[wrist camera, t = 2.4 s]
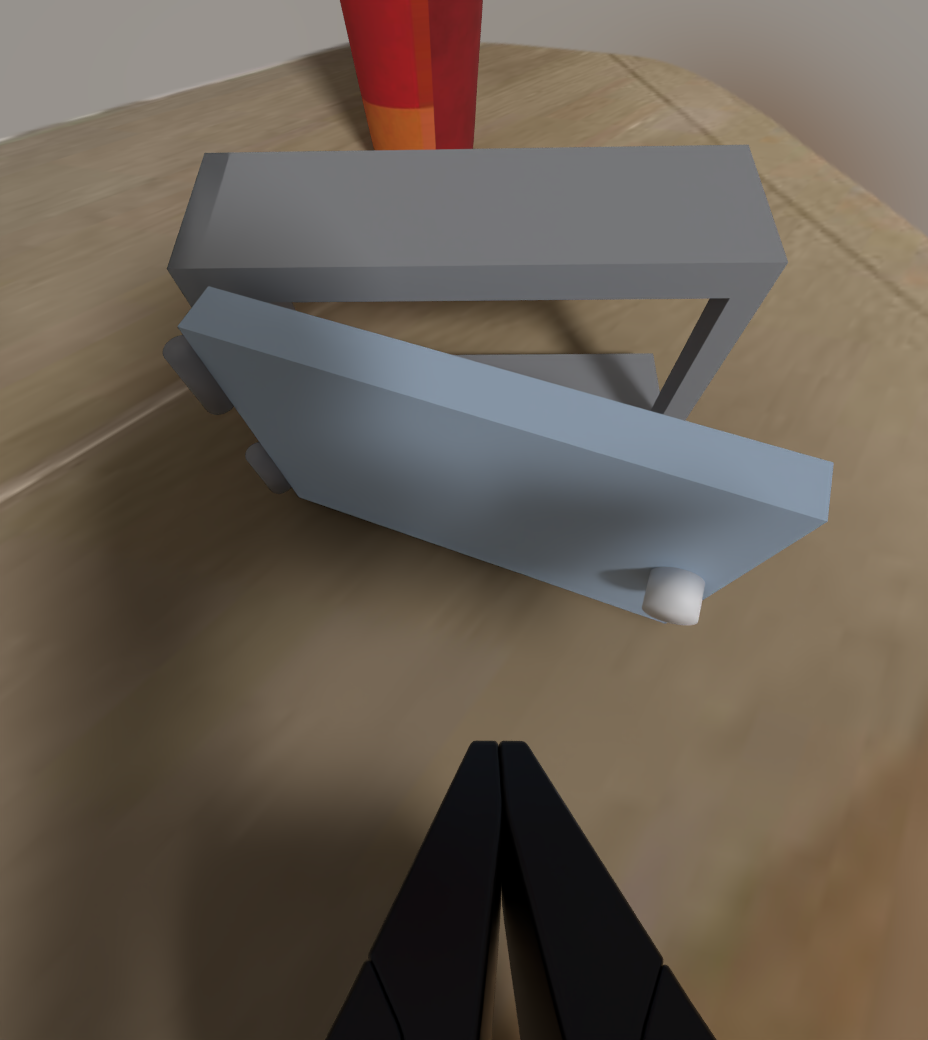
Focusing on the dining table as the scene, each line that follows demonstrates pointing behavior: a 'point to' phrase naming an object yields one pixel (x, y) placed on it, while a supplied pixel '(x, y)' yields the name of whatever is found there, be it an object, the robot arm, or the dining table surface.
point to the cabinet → (498, 241)
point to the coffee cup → (416, 70)
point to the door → (498, 458)
